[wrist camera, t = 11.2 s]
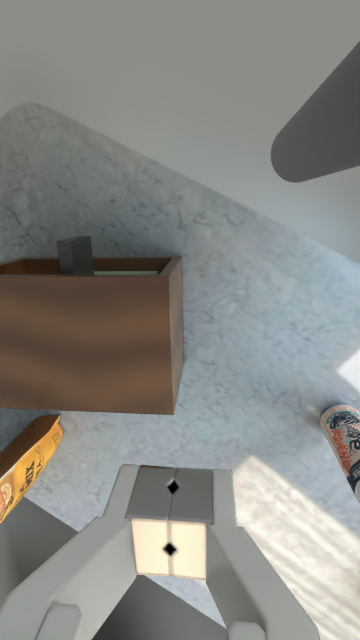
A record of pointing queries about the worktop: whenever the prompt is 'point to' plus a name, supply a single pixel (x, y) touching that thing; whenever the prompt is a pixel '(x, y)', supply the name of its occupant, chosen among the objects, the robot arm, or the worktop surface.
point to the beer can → (344, 441)
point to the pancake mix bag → (26, 460)
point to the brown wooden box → (91, 336)
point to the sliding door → (82, 258)
